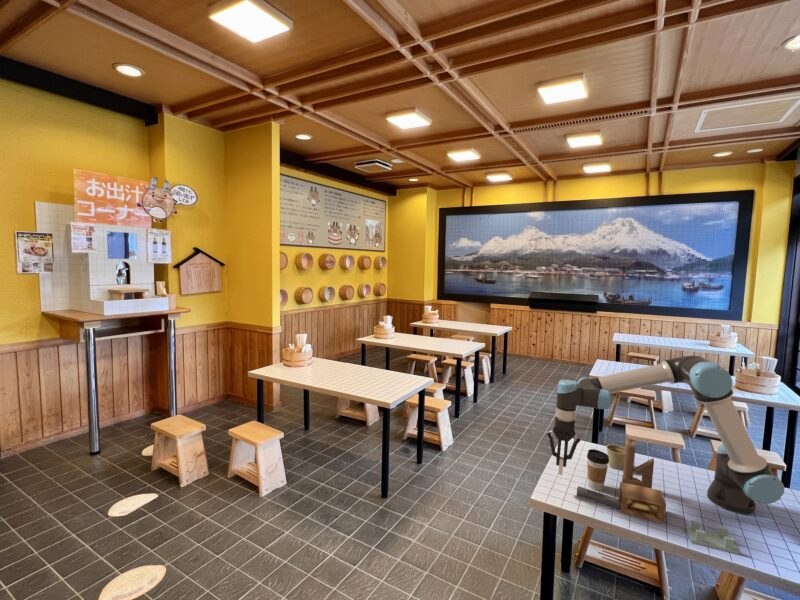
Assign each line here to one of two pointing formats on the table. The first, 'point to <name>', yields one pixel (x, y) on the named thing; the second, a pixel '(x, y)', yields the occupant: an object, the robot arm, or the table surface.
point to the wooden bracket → (637, 469)
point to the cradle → (711, 538)
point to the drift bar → (599, 497)
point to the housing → (643, 495)
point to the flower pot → (616, 456)
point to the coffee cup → (597, 469)
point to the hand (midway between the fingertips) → (560, 473)
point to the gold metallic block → (642, 506)
